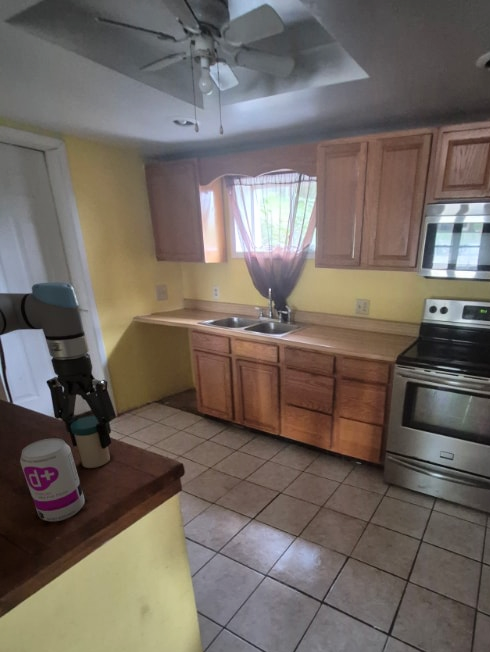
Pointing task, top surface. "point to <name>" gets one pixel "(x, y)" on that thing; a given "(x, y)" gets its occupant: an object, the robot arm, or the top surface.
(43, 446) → the supplement can
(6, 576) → the top surface
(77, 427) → the jar lid
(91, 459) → the jar
